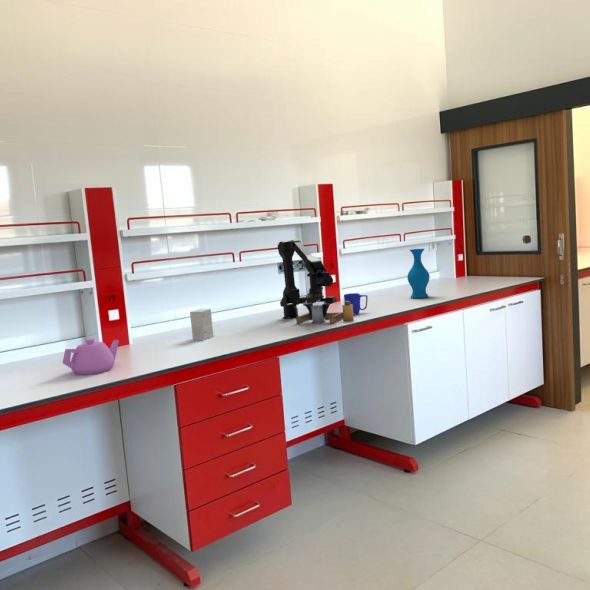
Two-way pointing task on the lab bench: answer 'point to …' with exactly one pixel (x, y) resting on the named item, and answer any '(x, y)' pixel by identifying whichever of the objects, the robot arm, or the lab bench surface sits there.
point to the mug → (355, 301)
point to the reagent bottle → (347, 311)
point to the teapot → (91, 357)
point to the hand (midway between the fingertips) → (318, 317)
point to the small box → (201, 324)
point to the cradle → (332, 316)
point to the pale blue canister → (317, 314)
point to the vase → (418, 276)
